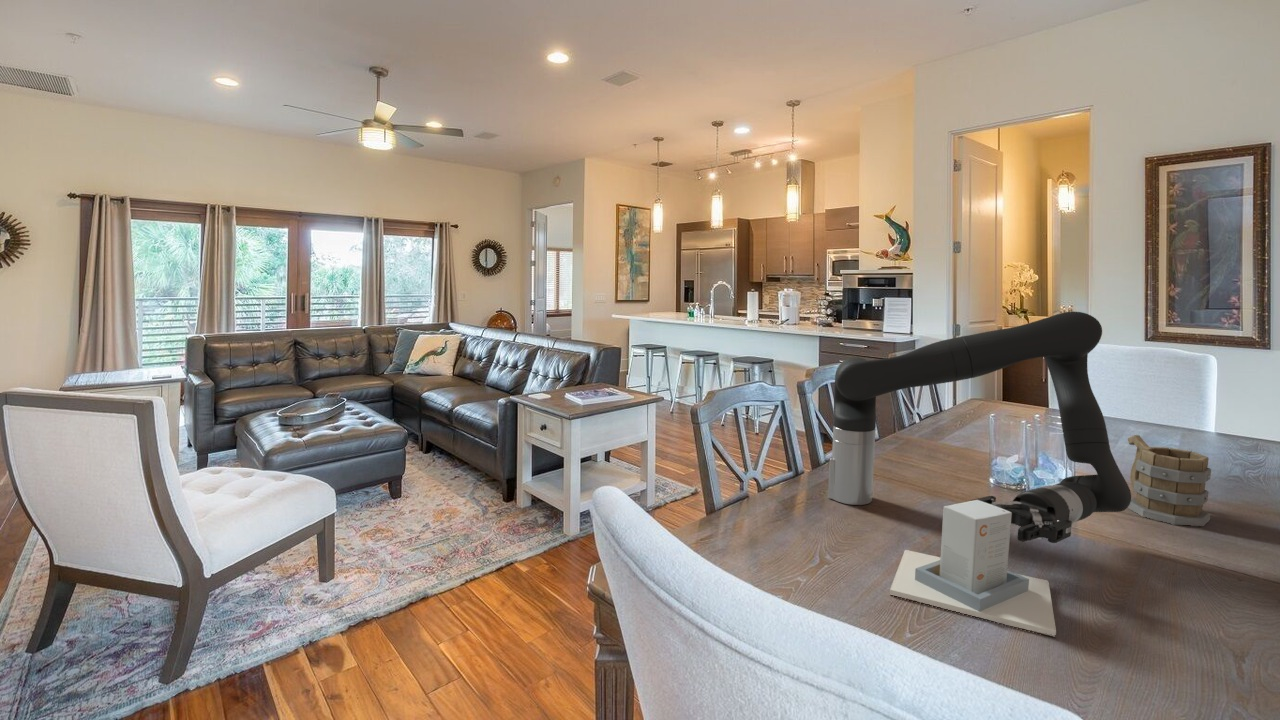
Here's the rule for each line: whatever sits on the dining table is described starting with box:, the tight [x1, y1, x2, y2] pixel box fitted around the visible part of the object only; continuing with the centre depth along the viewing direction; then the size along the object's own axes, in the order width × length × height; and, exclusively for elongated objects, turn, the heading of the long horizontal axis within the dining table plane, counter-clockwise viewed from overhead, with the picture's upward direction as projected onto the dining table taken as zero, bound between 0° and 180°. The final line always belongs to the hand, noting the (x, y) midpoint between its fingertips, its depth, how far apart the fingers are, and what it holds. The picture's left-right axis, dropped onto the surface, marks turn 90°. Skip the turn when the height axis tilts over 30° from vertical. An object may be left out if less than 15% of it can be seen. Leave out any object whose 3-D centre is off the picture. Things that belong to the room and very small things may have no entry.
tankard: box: [1127, 434, 1212, 527], centre depth 131 cm, size 20×13×15 cm, turn 170°
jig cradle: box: [889, 549, 1057, 636], centre depth 96 cm, size 22×17×3 cm
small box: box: [939, 499, 1012, 594], centre depth 95 cm, size 8×6×13 cm
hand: (993, 525), depth 97 cm, fingers open, 8 cm apart
